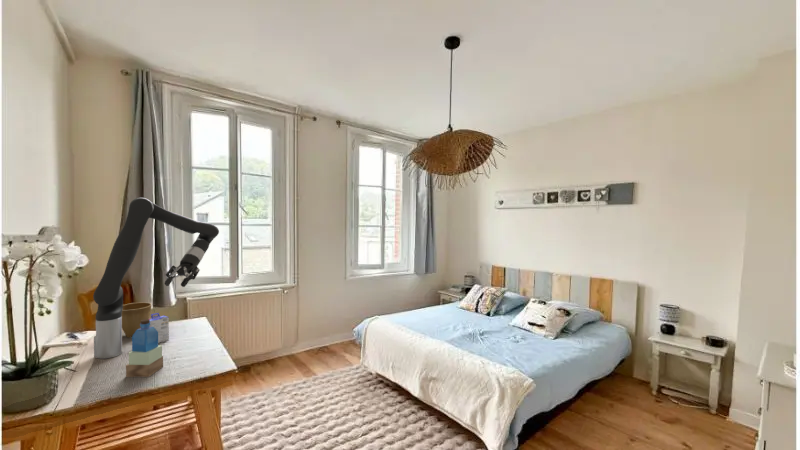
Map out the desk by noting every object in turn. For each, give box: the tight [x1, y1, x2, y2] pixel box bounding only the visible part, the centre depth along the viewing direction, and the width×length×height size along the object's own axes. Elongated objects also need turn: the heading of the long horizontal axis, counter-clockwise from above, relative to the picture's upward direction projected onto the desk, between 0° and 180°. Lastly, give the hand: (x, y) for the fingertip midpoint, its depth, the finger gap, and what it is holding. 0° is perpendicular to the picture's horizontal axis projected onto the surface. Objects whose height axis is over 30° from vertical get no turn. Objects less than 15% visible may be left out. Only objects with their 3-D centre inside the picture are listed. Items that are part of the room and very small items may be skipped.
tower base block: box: [125, 355, 164, 378], centre depth 144 cm, size 9×9×5 cm
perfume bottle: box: [131, 318, 159, 352], centre depth 144 cm, size 6×6×12 cm
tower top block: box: [128, 344, 163, 365], centre depth 144 cm, size 8×8×5 cm
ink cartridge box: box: [149, 312, 170, 344], centre depth 177 cm, size 10×6×14 cm, turn 148°
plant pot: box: [122, 302, 152, 338], centre depth 186 cm, size 15×15×16 cm
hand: (174, 285), depth 160 cm, fingers open, 8 cm apart
